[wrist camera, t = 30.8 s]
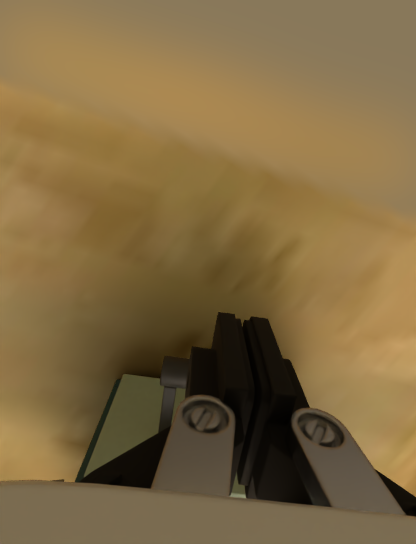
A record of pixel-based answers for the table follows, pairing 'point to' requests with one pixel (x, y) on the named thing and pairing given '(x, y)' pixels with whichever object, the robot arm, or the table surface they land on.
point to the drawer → (144, 413)
